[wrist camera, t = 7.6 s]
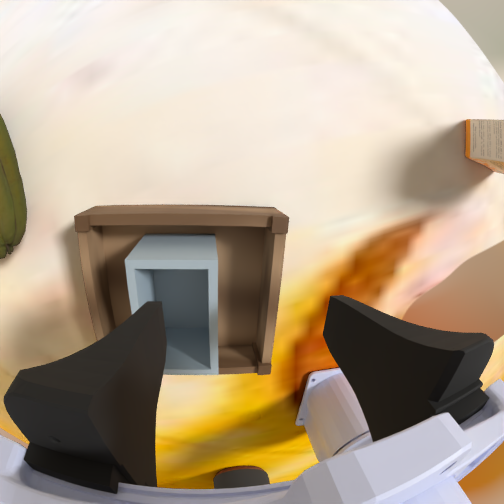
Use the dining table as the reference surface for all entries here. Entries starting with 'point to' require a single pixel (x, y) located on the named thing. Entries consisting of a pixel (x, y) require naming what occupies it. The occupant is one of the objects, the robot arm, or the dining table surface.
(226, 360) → the walnut crate
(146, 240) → the grey crate
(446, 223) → the dining table surface
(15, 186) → the fruit
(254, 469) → the mug
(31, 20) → the dining table surface
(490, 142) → the supplement box
